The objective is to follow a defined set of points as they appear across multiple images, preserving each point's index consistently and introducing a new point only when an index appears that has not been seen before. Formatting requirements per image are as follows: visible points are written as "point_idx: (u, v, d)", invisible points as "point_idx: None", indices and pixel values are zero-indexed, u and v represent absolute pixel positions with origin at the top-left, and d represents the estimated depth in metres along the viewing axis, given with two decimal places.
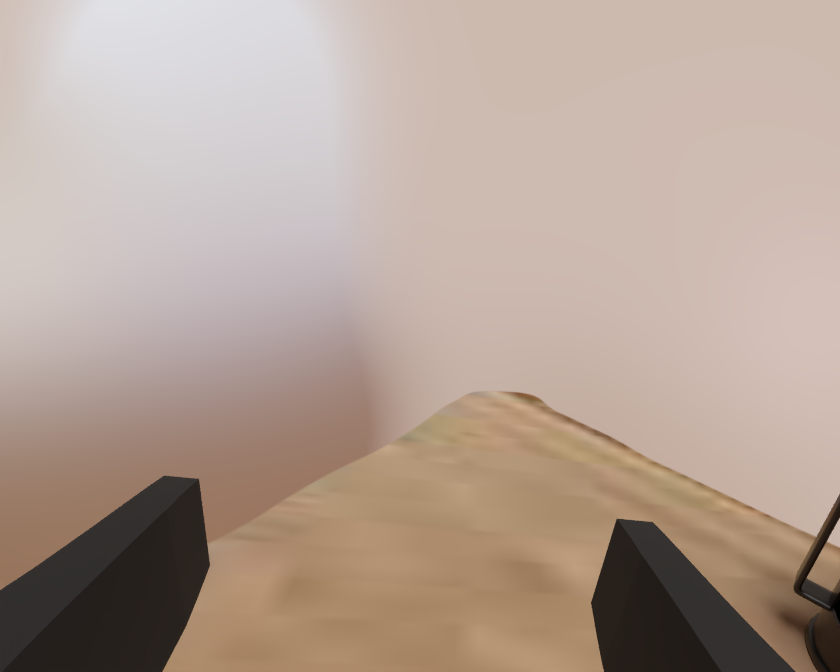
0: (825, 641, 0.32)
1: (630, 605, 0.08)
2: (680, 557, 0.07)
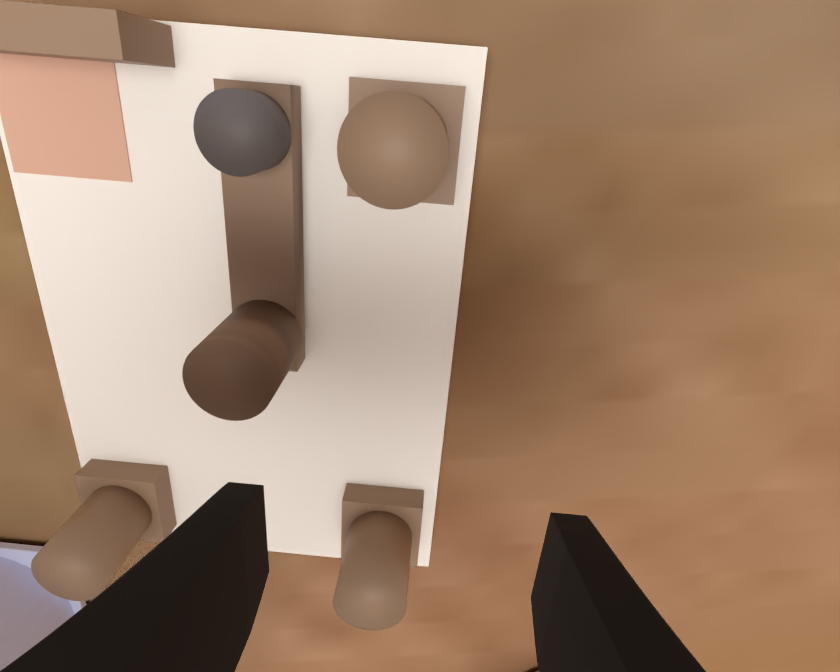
0: None
1: (557, 598, 0.08)
2: (605, 549, 0.07)
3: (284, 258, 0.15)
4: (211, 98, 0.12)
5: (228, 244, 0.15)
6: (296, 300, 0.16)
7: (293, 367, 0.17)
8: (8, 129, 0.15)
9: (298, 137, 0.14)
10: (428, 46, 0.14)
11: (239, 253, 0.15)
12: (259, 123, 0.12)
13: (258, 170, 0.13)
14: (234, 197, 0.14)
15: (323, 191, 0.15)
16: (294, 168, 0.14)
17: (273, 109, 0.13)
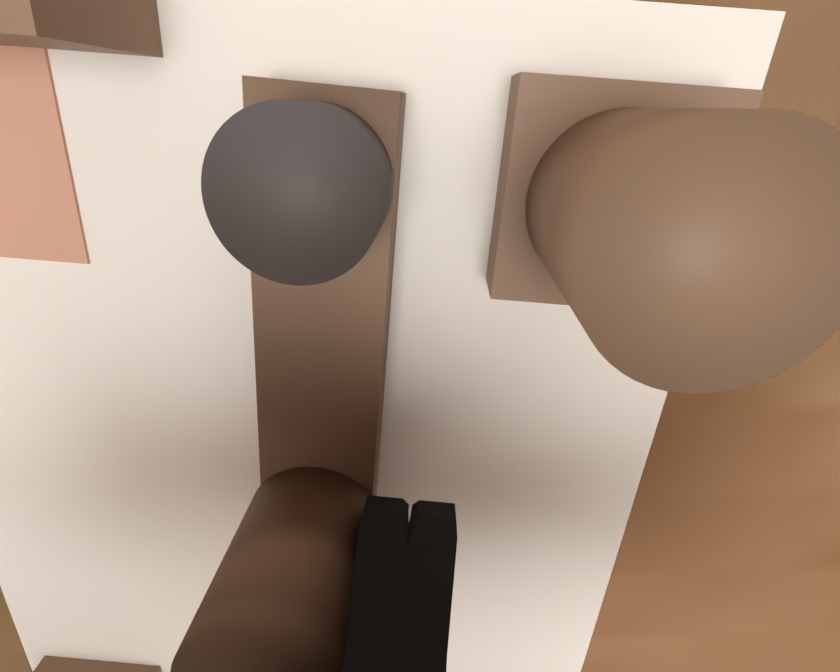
0: None
1: None
2: (396, 529, 0.08)
3: (360, 404, 0.08)
4: (243, 121, 0.05)
5: (259, 379, 0.08)
6: (374, 468, 0.09)
7: None
8: None
9: (397, 190, 0.08)
10: (666, 11, 0.07)
11: (278, 394, 0.08)
12: (349, 178, 0.06)
13: (339, 274, 0.06)
14: (274, 300, 0.08)
15: (431, 279, 0.09)
16: (390, 249, 0.08)
17: (373, 144, 0.06)
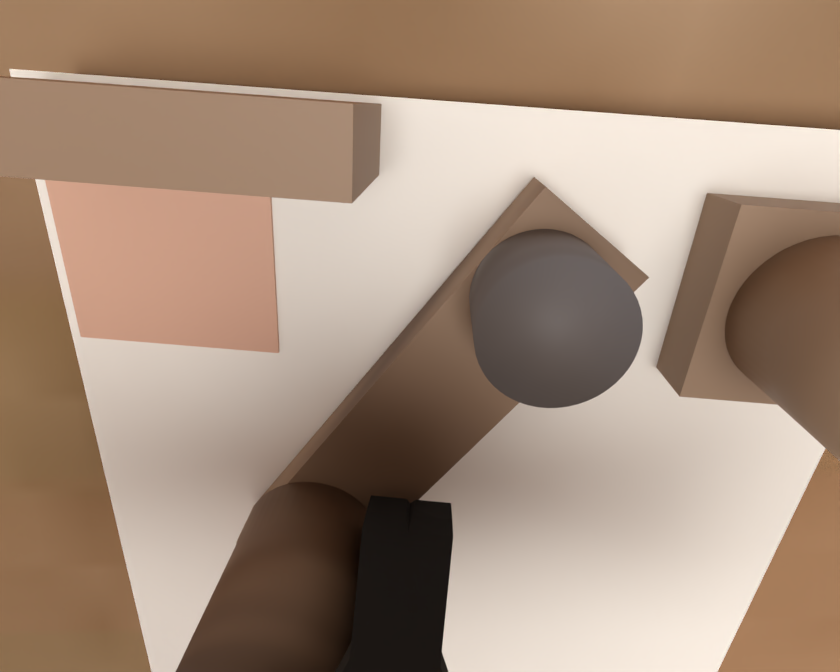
0: None
1: None
2: (401, 530, 0.08)
3: (428, 468, 0.09)
4: (573, 267, 0.06)
5: (360, 405, 0.08)
6: None
7: None
8: (74, 273, 0.09)
9: None
10: None
11: (366, 424, 0.09)
12: (611, 351, 0.06)
13: (544, 407, 0.07)
14: (426, 356, 0.08)
15: None
16: None
17: None
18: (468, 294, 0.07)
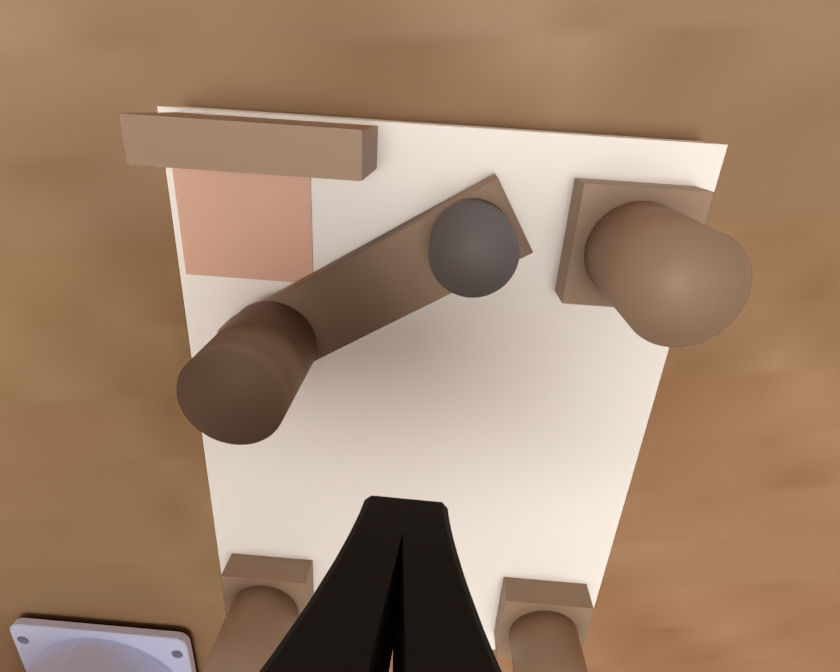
0: None
1: (399, 582, 0.08)
2: (441, 534, 0.08)
3: (366, 323, 0.14)
4: (495, 219, 0.11)
5: (342, 265, 0.13)
6: (332, 351, 0.14)
7: None
8: (185, 231, 0.14)
9: None
10: (662, 144, 0.12)
11: (340, 280, 0.13)
12: (497, 273, 0.11)
13: (452, 292, 0.12)
14: (394, 250, 0.13)
15: (521, 291, 0.14)
16: None
17: None
18: (433, 222, 0.12)
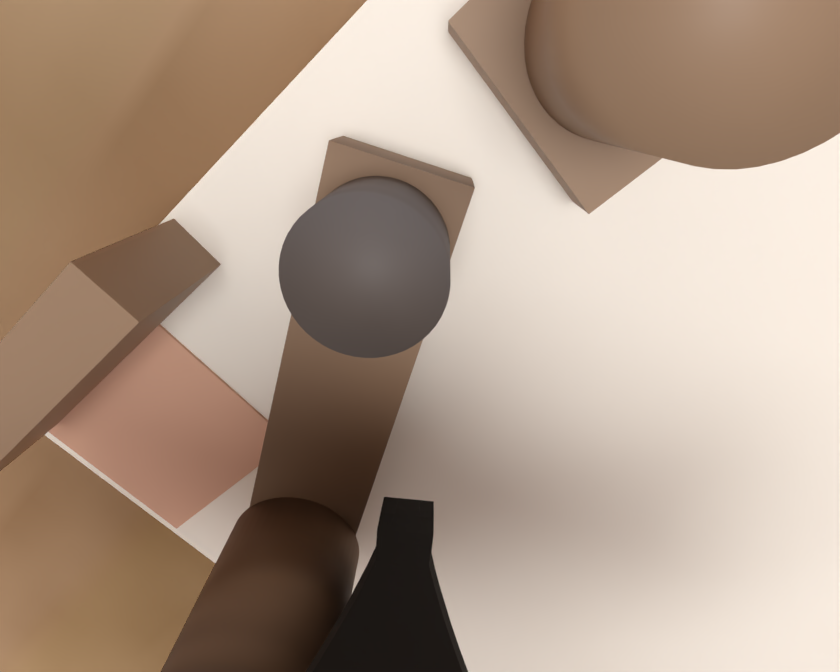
0: None
1: None
2: (416, 531, 0.08)
3: (365, 451, 0.09)
4: (338, 206, 0.06)
5: (273, 412, 0.08)
6: (364, 509, 0.09)
7: None
8: (134, 490, 0.11)
9: None
10: None
11: (289, 428, 0.09)
12: (423, 274, 0.06)
13: (391, 354, 0.06)
14: (307, 345, 0.08)
15: (528, 242, 0.08)
16: None
17: (445, 240, 0.06)
18: None
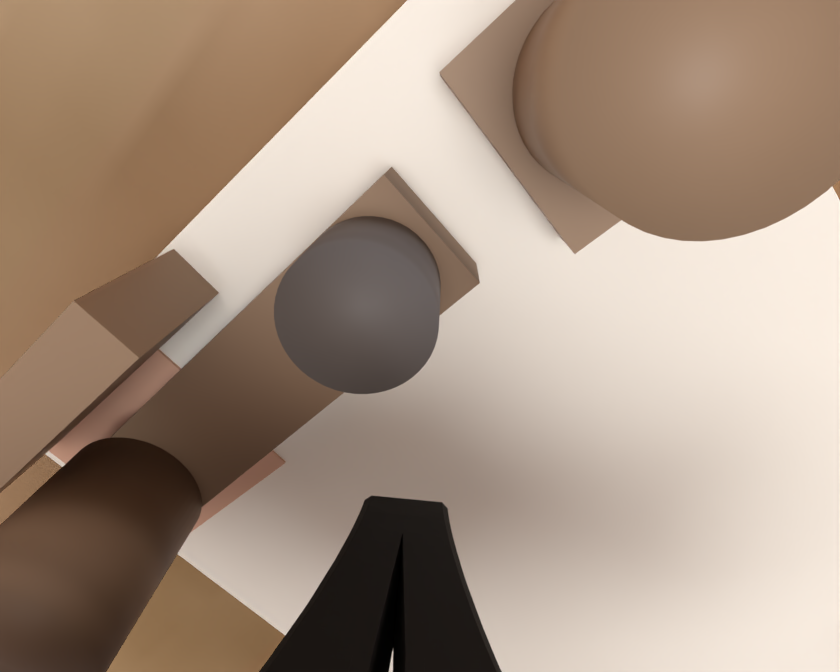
0: None
1: (399, 583, 0.08)
2: (441, 534, 0.08)
3: (256, 441, 0.09)
4: (372, 253, 0.06)
5: (189, 367, 0.08)
6: (223, 488, 0.09)
7: None
8: None
9: None
10: None
11: (195, 388, 0.08)
12: (408, 344, 0.06)
13: (341, 391, 0.07)
14: (257, 327, 0.08)
15: (518, 276, 0.08)
16: None
17: None
18: None
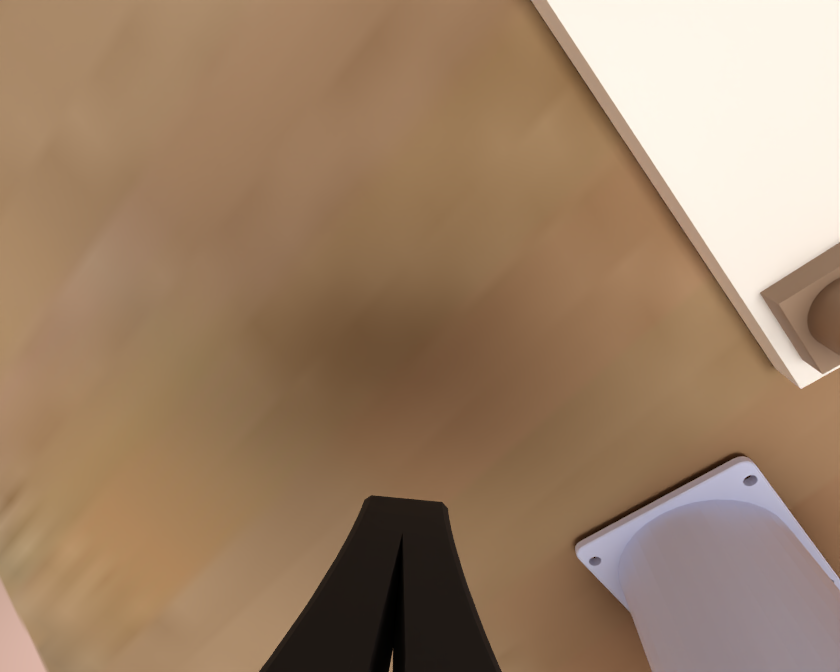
0: None
1: (399, 583, 0.08)
2: (441, 534, 0.08)
3: None
4: None
5: None
6: None
7: None
8: None
9: None
10: None
11: None
12: None
13: None
14: None
15: None
16: None
17: None
18: None
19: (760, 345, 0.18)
